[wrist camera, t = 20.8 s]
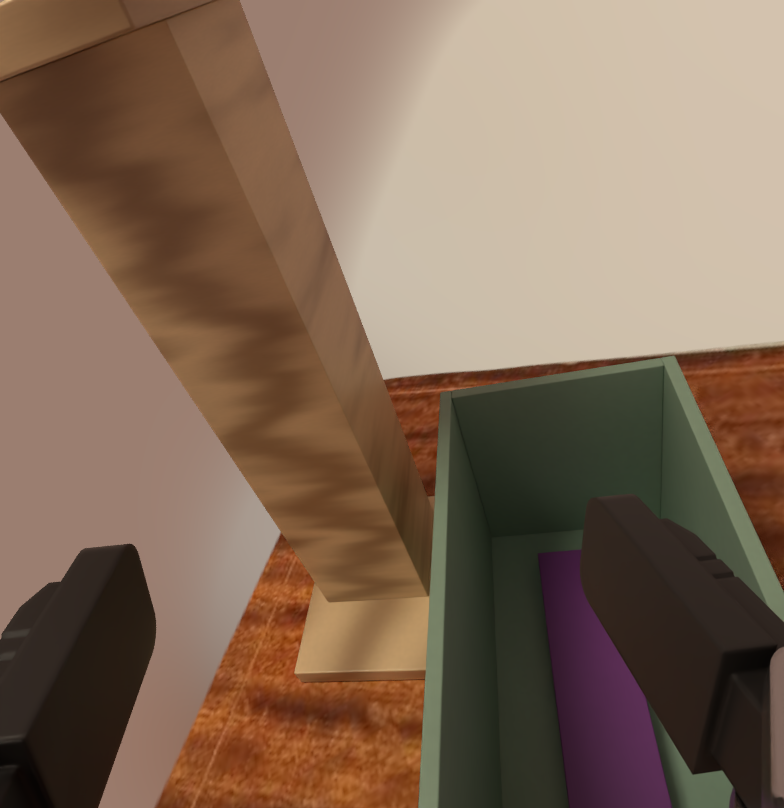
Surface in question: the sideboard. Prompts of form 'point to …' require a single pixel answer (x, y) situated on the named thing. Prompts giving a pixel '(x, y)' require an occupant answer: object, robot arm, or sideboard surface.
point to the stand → (234, 292)
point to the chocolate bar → (596, 701)
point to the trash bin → (550, 532)
